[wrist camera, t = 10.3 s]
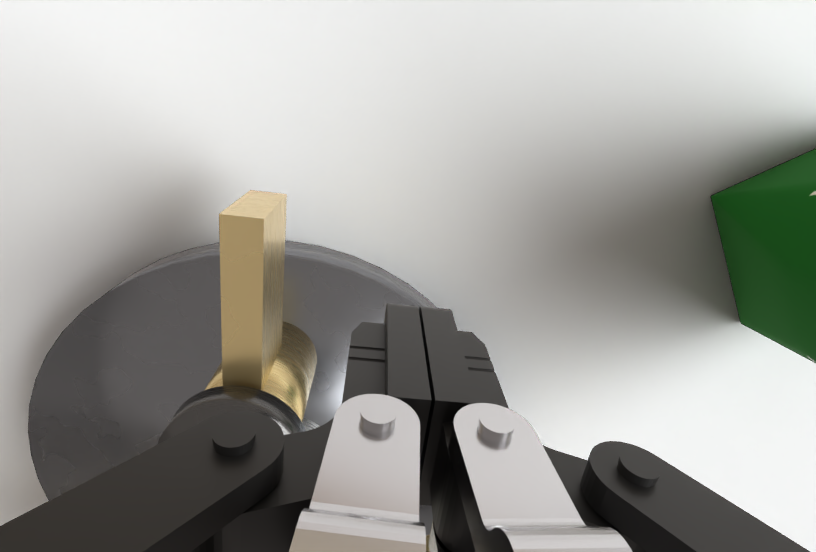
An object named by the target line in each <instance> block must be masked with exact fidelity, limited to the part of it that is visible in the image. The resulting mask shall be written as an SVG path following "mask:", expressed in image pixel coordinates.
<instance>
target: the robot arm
mask: <svg viewBox="0 0 816 552" xmlns="http://www.w3.org/2000/svg"><path fill="white" fill-rule="evenodd" d="M419 505H430V506H432V514H433V522H432V527H431V531H430V536H429V551H430V552H810V551H808V550H807V549H805V548H803V547H802V546H800V545H799V544H797V543H795V542H794V541H792V540H790V539H789V538H787V537H786V536H784V535H782V534H781V533H779V532H778V531H776V530H774V529H773V528H771V527H770V526H768V525H766V524H765V523H763V522H762V521H760V520H758V519H757V518H755V517H754V516H752V515H750V514H749V513H747V512H745V511H744V510H742V509H741V508H739V507H737V506H736V505H734V504H733V503H731V502H729V501H728V500H726V499H725V498H723V497H721V496H720V495H718V494H717V493H715V492H713V491H712V490H710V489H709V488H707V487H705V486H704V485H702V484H700V483H699V482H697V481H696V480H694V479H692V478H691V477H689V476H688V475H686V474H684V473H683V472H681V471H680V470H678V469H676V468H675V467H673V466H672V465H670V464H668V463H667V462H665V461H664V460H662V459H660V458H659V457H657V456H655V455H654V454H652V453H650V452H648V451H646V450H644V449H642V448H640V447H637V446H634V445H632V444H628V443H623V442H616V441H609V442H603V443H600V444H598V445H596V446H595V447H594V448H593V449H592V451H591V453H590V456H589V458H588V460H584V459H581V458H578V457H575V456H571V455H568V454H565V453H562V452H558V451H555V450H553V449H550V448H548V447H545V446H543V445H542V443H541V441H540V440H539V438H538V436H537V434H536V432H535V430H534V429H533V427H532V426H531V424H530V423H529V422H528V421H527V420H526V419H525V418H523V417H522V416H521V415H519V414H518V413H516V412H514V411H512V410H510V409H509V408H508V405H507V403H506V400H505V397H504V395H503V392H502V389H501V387H500V384H499V381H498V379H497V376H496V373H495V372H494V368H493V365H492V363H491V361H490V357H489V355H488V352H487V349H486V347H485V344H484V343H482V342H481V341H480V340H479V339H478V338H477V337H476V336H475V335H474V334H473V333H472V332H464V331H457V328H456V324H455V321H454V317H453V314H452V311H451V310H449V309H439V308H429V307H419V309H418V306H409V305H399V304H389V303H387V305H386V311H385V319H384V324H380V323H370V322H362V323H361V324H360V325H359V326H358V327H357V328H355V329H354V330H353V331H352V333H351V341H350V348H349V355H348V362H347V370H346V377H345V384H344V391H343V399H342V404H341V405H340V406H339V408H338V409H337V411H336V413H335V416H334V417H333V418H332V419H331V420H330V421H329V422H327V423H325V424H324V425H322V426H320V427H318V428H315V429H312V430H308V431H304V432H298V433H292V434H286V435H284V433H283V431H282V429H281V427H280V426H279V425H278V423H276V422H275V421H274V420H273V419H271V418H269V417H268V416H265V415H263V414H260V413H255V412H248V411H235V412H228V413H223V414H219V415H216V416H213V417H211V418H209V419H206V420H204V421H202V422H201V423H199V424H197V425H195V426H193V427H191V428H189V429H187V430H185V431H183V432H181V433H179V434H177V435H175V436H174V437H172V438H170V439H168V440H166V441H164V442H162V443H160V444H158V445H156V446H154V447H152V448H150V449H148V450H146V451H145V452H143V453H141V454H139V455H137V456H135V457H133V458H131V459H129V460H127V461H125V462H123V463H121V464H119V465H118V466H116V467H114V468H112V469H110V470H108V471H106V472H104V473H102V474H100V475H98V476H96V477H94V478H92V479H91V480H89V481H87V482H85V483H83V484H81V485H79V486H77V487H75V488H73V489H71V490H69V491H67V492H65V493H63V494H62V495H60V496H58V497H56V498H54V499H52V500H50V501H48V502H46V503H44V504H42V505H40V506H38V507H36V508H35V509H33V510H31V511H29V512H27V513H25V514H23V515H21V516H19V517H17V518H15V519H13V520H11V521H9V522H8V523H6V524H4V525H2V526H0V552H426V531H425V525H424V523H422V522H419Z"/></svg>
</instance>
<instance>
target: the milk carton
mask: <svg viewBox="0 0 816 552" xmlns="http://www.w3.org/2000/svg"><path fill="white" fill-rule="evenodd" d="M711 199H712V204H713V208H714V212H715V216H716V220H717V225H718V229H719V233H720V237H721V242H722V246H723V250H724V254H725V259H726V263H727V267H728V271H729V275H730V280H731V284H732V288H733V292H734V297H735V301H736V305H737V309H738V313H739V318H740V322H741V324H743V325H745V326H747V327H749V328H751V329H752V330H754V331H756V332H758V333H760V334H762V335H764V336H766V337H767V338H769V339H771V340H773V341H775V342H777V343H779V344H781V345H782V346H784V347H786V348H788V349H790V350H792V351H794V352H796V353H797V354H799V355H801V356H803V357H805V358H807V359H809V360H811V361H813V362H814V363H816V149H814V150H811V151H809V152H807V153H805V154H803V155H800V156H798V157H796V158H794V159H792V160H789V161H787V162H785V163H783V164H780V165H778V166H776V167H774V168H772V169H769V170H767V171H765V172H763V173H761V174H758V175H756V176H754V177H752V178H749V179H747V180H745V181H743V182H741V183H738V184H736V185H734V186H732V187H730V188H727V189H725V190H723V191H721V192H718V193H716V194H714V195H712V196H711Z"/></svg>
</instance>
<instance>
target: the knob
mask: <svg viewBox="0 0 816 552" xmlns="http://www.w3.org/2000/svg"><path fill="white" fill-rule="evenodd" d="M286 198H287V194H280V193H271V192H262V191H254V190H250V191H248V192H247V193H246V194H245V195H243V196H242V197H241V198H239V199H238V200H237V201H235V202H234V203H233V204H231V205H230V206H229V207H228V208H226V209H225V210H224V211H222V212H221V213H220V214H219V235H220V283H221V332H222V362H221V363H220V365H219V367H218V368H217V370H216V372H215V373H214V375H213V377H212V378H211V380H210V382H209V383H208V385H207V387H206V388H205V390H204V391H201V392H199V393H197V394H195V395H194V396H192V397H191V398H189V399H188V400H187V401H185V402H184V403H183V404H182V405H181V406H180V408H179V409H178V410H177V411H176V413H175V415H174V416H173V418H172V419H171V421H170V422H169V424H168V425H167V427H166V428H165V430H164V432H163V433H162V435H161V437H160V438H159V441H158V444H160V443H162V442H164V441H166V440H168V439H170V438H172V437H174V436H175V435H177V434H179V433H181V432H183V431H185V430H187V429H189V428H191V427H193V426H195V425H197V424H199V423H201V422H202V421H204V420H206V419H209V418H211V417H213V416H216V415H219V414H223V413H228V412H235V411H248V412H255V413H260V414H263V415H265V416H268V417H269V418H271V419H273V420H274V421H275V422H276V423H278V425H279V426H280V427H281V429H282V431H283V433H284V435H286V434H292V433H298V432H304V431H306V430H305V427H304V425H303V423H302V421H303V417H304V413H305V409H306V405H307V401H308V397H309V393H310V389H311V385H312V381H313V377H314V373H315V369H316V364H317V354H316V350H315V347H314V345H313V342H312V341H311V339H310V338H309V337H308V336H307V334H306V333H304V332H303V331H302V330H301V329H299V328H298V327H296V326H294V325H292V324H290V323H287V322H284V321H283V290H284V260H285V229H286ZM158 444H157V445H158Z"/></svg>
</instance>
